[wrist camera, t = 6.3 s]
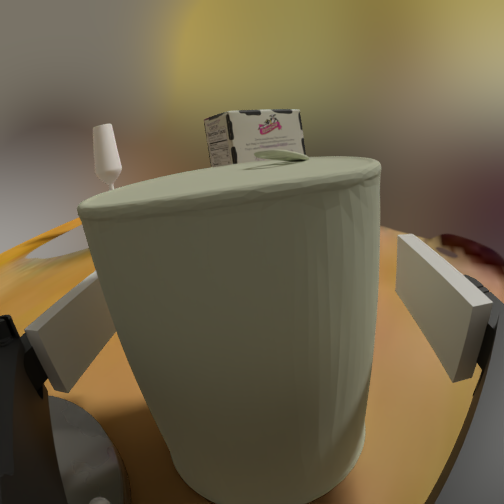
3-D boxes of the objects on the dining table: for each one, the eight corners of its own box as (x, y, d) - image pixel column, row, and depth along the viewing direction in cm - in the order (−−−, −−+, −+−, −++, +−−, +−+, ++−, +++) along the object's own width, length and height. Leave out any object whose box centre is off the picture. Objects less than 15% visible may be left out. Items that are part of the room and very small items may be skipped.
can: (395, 403, 13) (415, 142, 9) (280, 552, 7) (199, 167, 3) (257, 352, 19) (229, 153, 15) (136, 436, 13) (45, 194, 9)
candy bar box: (287, 232, 44) (274, 114, 39) (315, 237, 40) (302, 108, 35) (222, 257, 37) (201, 117, 32) (249, 266, 34) (228, 108, 28)
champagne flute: (100, 227, 70) (83, 130, 63) (119, 219, 76) (104, 128, 68) (117, 226, 67) (99, 123, 60) (136, 218, 73) (121, 121, 65)
